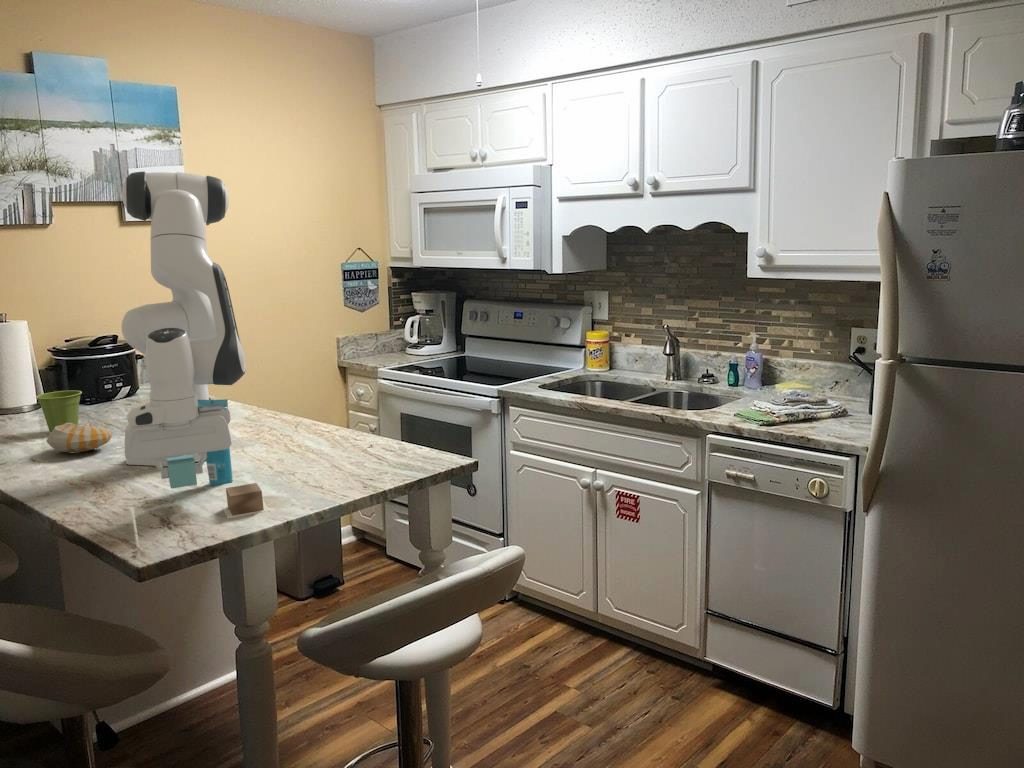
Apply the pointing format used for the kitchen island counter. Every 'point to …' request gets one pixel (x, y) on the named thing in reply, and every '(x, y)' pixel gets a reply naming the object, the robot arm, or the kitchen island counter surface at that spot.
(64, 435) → the nautilus
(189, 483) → the teal cube
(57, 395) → the plant pot
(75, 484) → the kitchen island counter surface
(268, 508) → the slate mat
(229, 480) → the tube
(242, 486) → the walnut block
